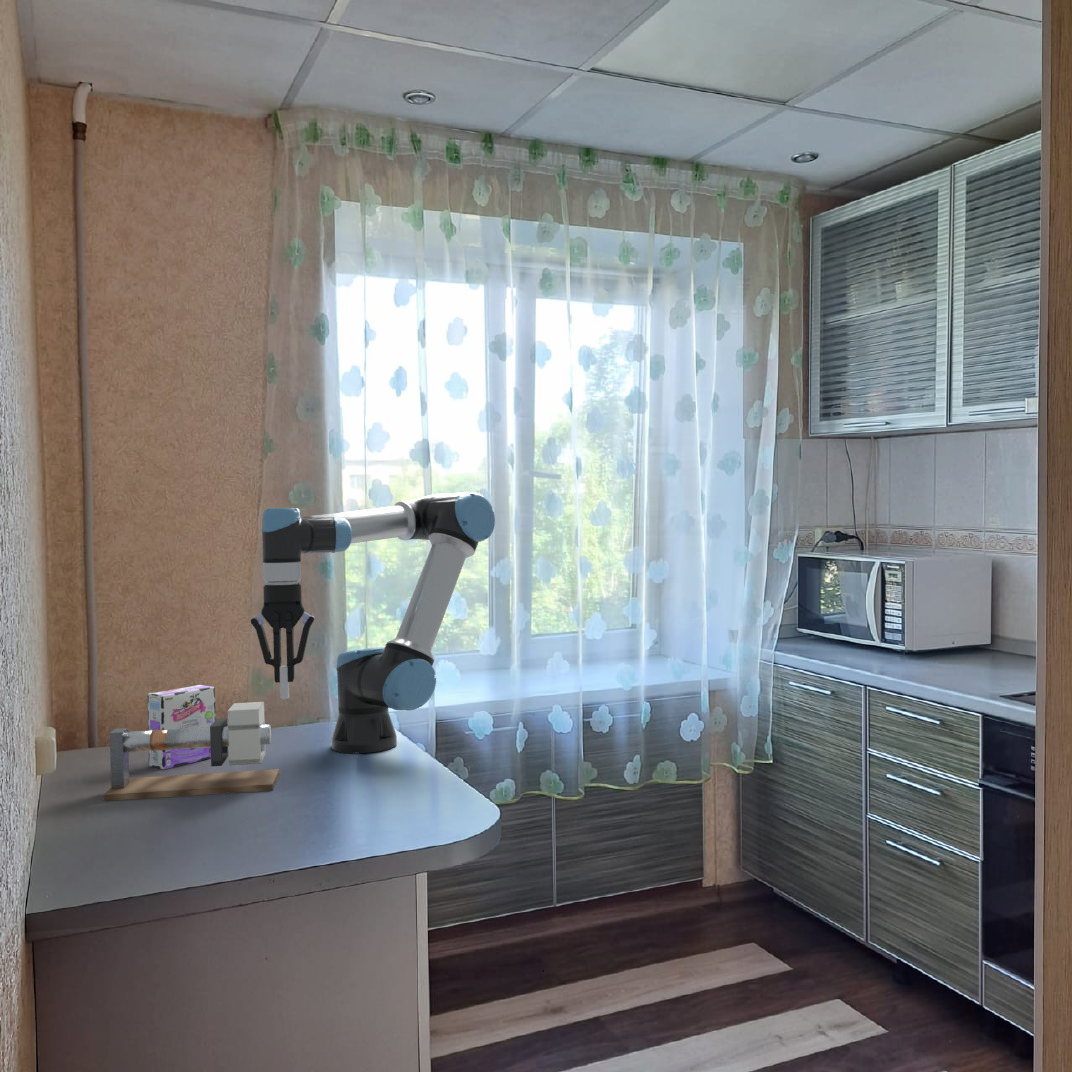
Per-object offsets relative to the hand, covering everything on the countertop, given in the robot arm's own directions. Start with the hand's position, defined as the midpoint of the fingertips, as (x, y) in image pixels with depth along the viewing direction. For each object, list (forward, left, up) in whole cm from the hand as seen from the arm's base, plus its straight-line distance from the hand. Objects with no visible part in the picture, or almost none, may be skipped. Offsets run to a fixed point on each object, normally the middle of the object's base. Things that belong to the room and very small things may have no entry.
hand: (284, 698), depth 200 cm
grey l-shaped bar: (+19, 0, -16) cm, 25 cm away
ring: (+13, 0, -12) cm, 18 cm away
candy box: (+25, -23, -18) cm, 39 cm away
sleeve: (+8, 0, -12) cm, 15 cm away
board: (+18, 0, -17) cm, 25 cm away
